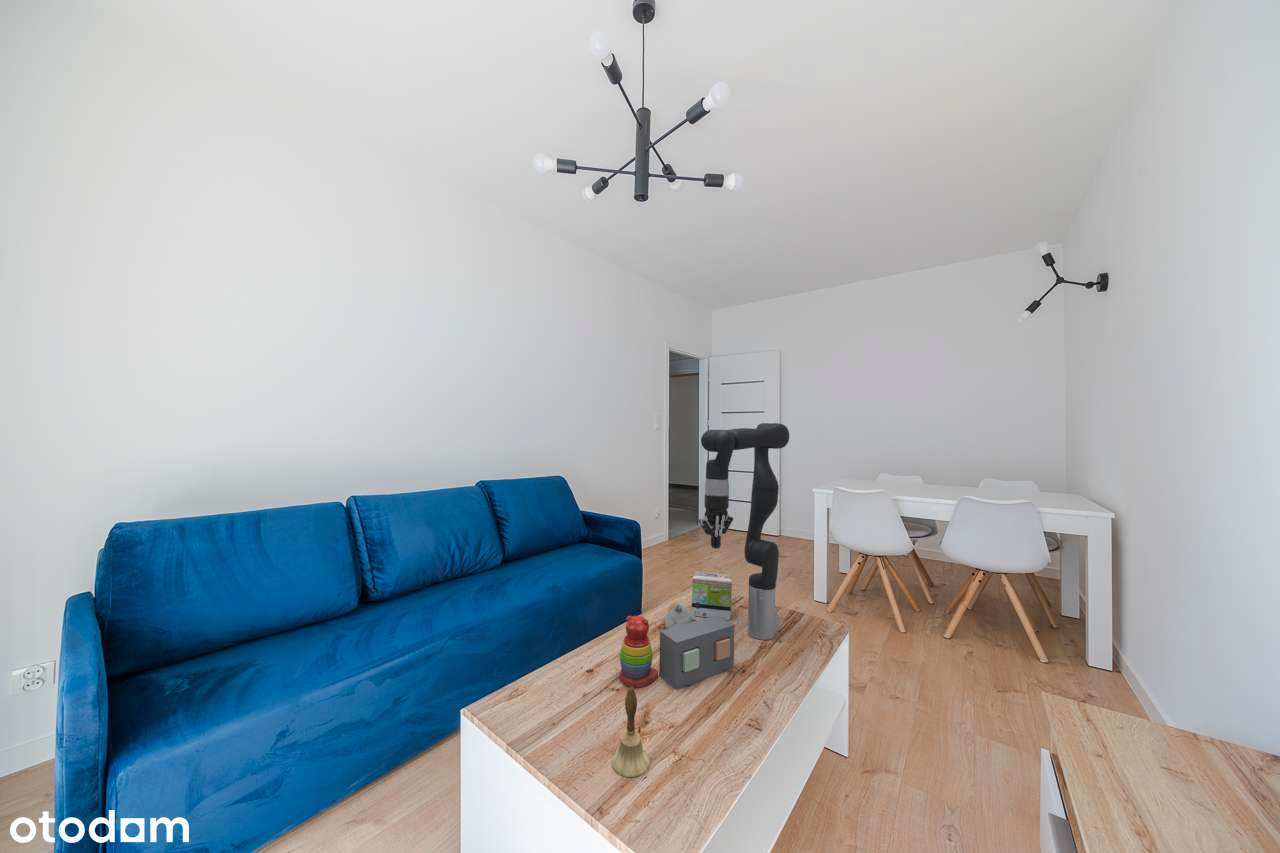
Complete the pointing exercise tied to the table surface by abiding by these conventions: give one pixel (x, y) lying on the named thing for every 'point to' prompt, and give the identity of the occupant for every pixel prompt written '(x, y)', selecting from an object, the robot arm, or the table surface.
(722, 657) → the salmon button
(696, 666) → the sage button
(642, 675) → the stacking bear
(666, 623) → the grey clay mound
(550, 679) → the table surface
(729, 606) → the tea box
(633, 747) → the hand bell
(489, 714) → the table surface
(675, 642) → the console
